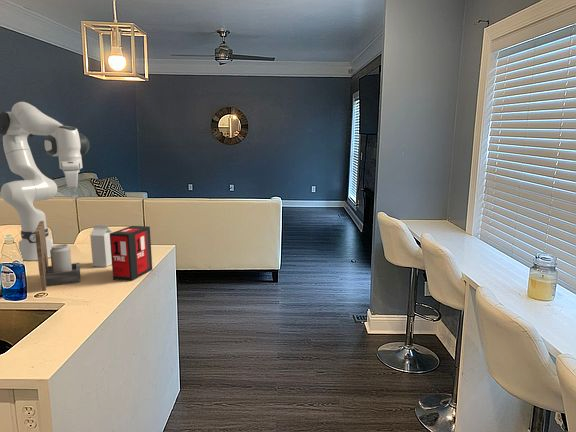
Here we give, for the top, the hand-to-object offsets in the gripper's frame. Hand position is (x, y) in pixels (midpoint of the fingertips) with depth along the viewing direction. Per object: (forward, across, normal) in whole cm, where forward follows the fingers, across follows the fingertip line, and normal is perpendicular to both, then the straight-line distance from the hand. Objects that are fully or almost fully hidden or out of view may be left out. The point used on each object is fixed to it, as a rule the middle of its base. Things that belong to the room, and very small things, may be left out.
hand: (73, 196), depth 198 cm
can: (+31, +8, -7) cm, 33 cm away
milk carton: (+34, -9, +10) cm, 37 cm away
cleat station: (+34, +8, -7) cm, 36 cm away
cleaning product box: (+34, +13, +21) cm, 42 cm away
